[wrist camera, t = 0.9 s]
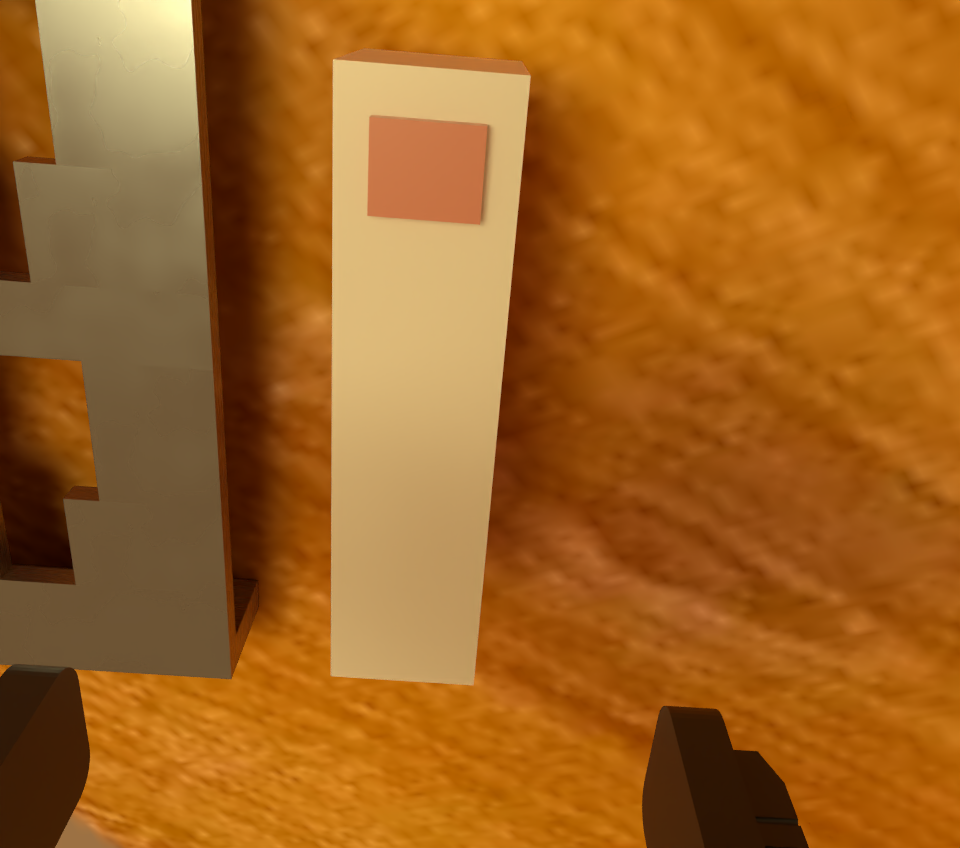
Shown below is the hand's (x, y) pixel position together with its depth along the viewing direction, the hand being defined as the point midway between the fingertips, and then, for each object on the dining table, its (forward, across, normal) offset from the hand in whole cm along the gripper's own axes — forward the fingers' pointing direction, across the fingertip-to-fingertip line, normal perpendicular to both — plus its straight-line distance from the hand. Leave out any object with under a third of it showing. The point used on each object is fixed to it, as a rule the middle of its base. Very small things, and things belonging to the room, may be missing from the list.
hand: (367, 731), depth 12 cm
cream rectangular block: (+18, 0, 0) cm, 18 cm away
